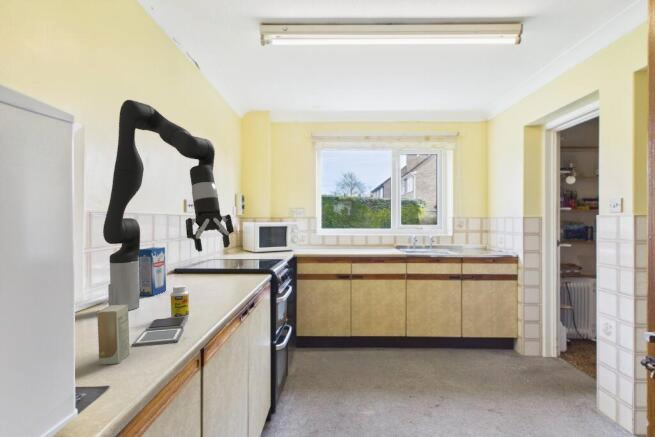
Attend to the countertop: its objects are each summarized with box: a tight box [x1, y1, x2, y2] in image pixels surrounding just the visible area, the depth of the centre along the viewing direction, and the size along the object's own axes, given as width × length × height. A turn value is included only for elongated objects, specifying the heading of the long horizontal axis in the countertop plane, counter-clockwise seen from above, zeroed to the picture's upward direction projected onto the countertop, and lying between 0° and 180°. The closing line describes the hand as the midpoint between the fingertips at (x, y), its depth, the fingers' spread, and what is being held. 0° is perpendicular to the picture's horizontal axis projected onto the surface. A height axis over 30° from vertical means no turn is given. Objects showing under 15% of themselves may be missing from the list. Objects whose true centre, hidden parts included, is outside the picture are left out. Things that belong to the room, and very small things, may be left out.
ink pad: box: [145, 316, 189, 332], centre depth 113 cm, size 10×10×1 cm
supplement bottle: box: [170, 284, 190, 318], centre depth 123 cm, size 6×6×10 cm
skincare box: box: [96, 305, 131, 365], centre depth 87 cm, size 6×4×12 cm
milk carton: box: [138, 246, 167, 297], centre depth 162 cm, size 10×6×20 cm, turn 172°
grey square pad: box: [131, 328, 185, 347], centre depth 101 cm, size 11×10×1 cm
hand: (213, 249), depth 115 cm, fingers open, 8 cm apart
